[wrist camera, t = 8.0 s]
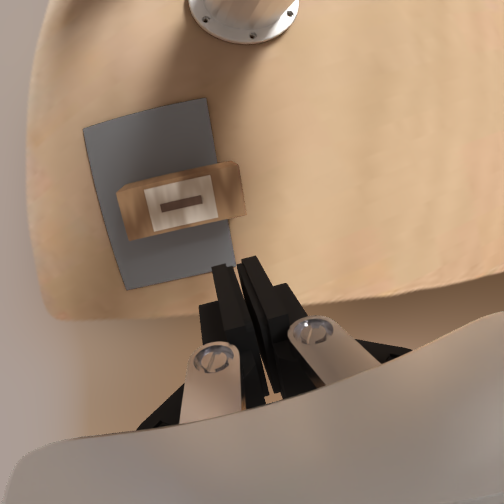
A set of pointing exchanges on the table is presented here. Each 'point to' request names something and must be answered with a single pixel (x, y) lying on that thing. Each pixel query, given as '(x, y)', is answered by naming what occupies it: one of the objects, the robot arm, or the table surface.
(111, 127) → the charcoal mat
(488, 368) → the robot arm
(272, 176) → the table surface
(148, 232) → the cardboard box
